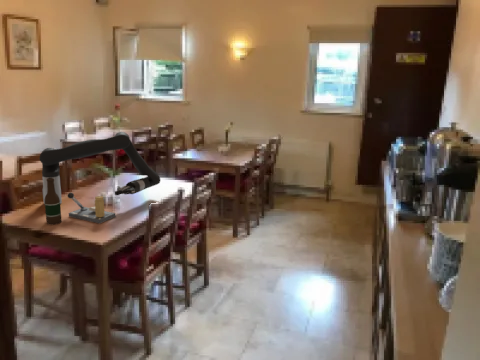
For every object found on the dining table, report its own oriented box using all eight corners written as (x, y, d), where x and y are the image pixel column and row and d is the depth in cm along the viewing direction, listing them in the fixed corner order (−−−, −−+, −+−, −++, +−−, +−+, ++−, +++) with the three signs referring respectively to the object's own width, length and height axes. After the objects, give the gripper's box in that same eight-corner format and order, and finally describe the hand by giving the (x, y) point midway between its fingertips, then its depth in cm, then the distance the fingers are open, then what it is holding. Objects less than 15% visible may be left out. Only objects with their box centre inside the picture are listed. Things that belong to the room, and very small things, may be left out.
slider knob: (94, 216, 218) (93, 197, 215) (99, 214, 221) (98, 195, 218) (100, 217, 216) (99, 198, 213) (105, 215, 220) (104, 196, 217)
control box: (68, 216, 223) (68, 212, 223) (85, 210, 234) (85, 206, 233) (100, 223, 215) (99, 219, 214) (115, 216, 225) (115, 212, 225)
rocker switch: (89, 210, 224) (89, 207, 224) (94, 209, 228) (95, 206, 228) (94, 211, 223) (94, 208, 223) (100, 210, 227) (100, 207, 227)
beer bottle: (49, 219, 218) (45, 176, 212) (64, 219, 219) (60, 176, 212) (43, 224, 210) (39, 180, 204) (59, 224, 211) (55, 180, 205)
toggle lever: (78, 209, 228) (65, 195, 217) (81, 204, 229) (68, 190, 219) (83, 210, 226) (69, 196, 216) (86, 205, 228) (72, 191, 218)
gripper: (126, 178, 245) (106, 185, 230) (144, 181, 240) (125, 188, 225) (126, 190, 247) (106, 198, 232) (144, 194, 242) (125, 201, 227)
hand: (115, 193), depth 228 cm, fingers closed
